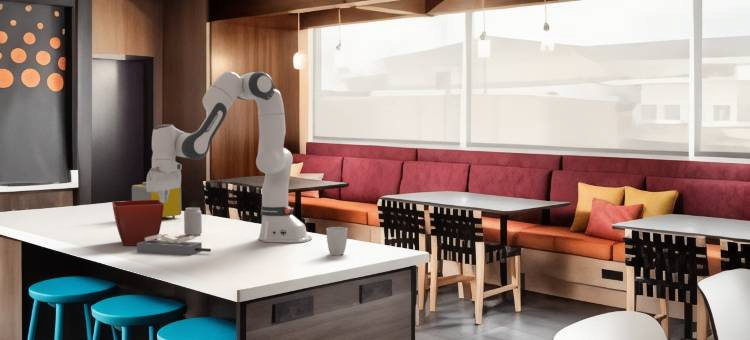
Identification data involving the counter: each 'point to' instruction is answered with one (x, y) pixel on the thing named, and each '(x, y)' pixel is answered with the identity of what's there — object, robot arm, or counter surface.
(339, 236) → the cup
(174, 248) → the rocker switch panel
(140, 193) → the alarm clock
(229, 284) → the counter surface
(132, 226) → the plant pot
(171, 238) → the rocker
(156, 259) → the counter surface
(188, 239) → the block
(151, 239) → the rocker
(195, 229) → the can
